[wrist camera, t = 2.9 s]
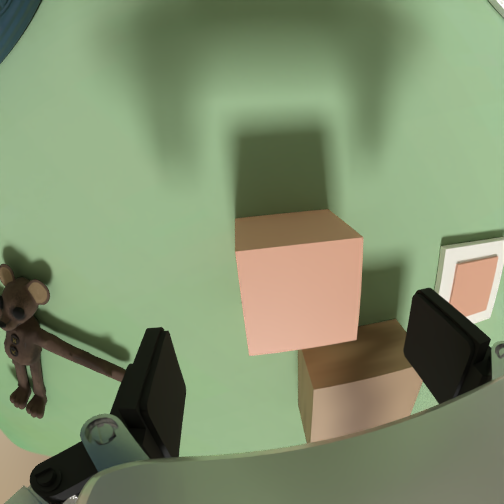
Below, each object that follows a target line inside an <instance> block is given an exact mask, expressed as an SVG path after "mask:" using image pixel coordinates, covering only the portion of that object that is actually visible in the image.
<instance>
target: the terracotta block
mask: <svg viewBox="0 0 504 504" xmlns="http://www.w3.org/2000/svg"><path fill="white" fill-rule="evenodd" d="M235 253H236V261H237V269H238V277H239V284H240V292H241V299H242V307H243V314H244V321H245V329H246V336H247V343H248V350H249V356H253V355H262V354H270V353H278V352H286V351H293V350H300V349H307V348H313V347H319V346H325V345H331V344H337V343H342V342H348V341H353V340H357V331H358V321H359V309H360V296H361V281H362V261H363V237H362V236H361V235H360V234H359V233H357V232H356V231H355V230H354V229H352V228H351V227H350V226H349V225H348V224H346V223H345V222H344V221H343V220H341V219H340V218H339V217H338V216H336V215H335V214H334V213H333V212H331V211H330V210H329V209H323V210H313V211H302V212H292V213H282V214H272V215H263V216H253V217H244V218H236V219H235Z"/></svg>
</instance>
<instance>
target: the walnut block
mask: <svg viewBox="0 0 504 504" xmlns="http://www.w3.org/2000/svg"><path fill="white" fill-rule="evenodd" d="M406 333H407V332H406V331H405V330H404V329H403V327H402V326H401V325H400V324H399V322H398V321H397V320H396V319H393V320H388V321H383V322H378V323H373V324H368V325H363V326H358V331H357V340H353V341H348V342H342V343H337V344H331V345H325V346H319V347H313V348H307V349H300V350H298V406H299V411H300V415H301V419H302V424H303V428H304V433H305V437H306V441H307V443H312V442H317V441H322V440H326V439H331V438H335V437H339V436H343V435H347V434H351V433H355V432H359V431H362V430H366V429H370V428H373V427H376V426H380V425H383V424H386V423H389V422H392V421H395V420H398V419H401V418H404V417H407V416H410V414H411V411H412V409H413V406H414V404H415V401H416V398H417V396H418V393H419V390H420V387H421V384H422V382H423V381H422V379H421V378H420V376H419V375H418V374H417V372H416V371H415V370H414V368H413V367H412V366H411V364H410V363H409V362H408V360H407V359H406V358H405V356H404V352H403V348H404V343H405V338H406Z"/></svg>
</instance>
